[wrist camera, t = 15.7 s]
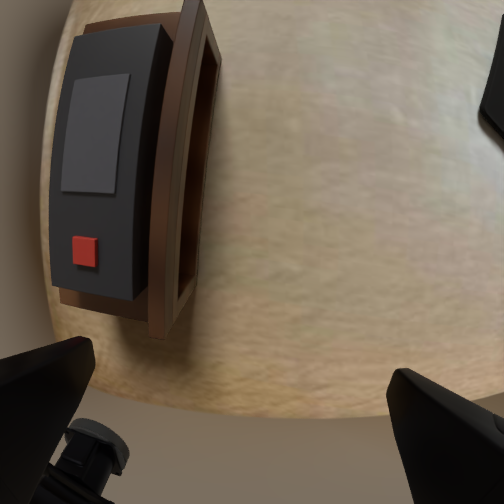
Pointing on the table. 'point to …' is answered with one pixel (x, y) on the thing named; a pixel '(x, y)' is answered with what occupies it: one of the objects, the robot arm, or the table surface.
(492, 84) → the smartphone
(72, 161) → the remote
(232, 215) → the table surface
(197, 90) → the shelf
